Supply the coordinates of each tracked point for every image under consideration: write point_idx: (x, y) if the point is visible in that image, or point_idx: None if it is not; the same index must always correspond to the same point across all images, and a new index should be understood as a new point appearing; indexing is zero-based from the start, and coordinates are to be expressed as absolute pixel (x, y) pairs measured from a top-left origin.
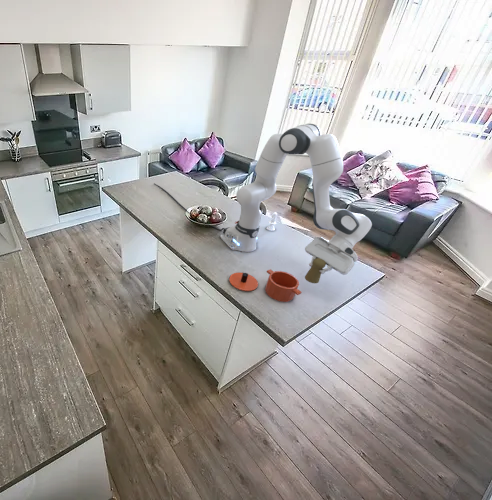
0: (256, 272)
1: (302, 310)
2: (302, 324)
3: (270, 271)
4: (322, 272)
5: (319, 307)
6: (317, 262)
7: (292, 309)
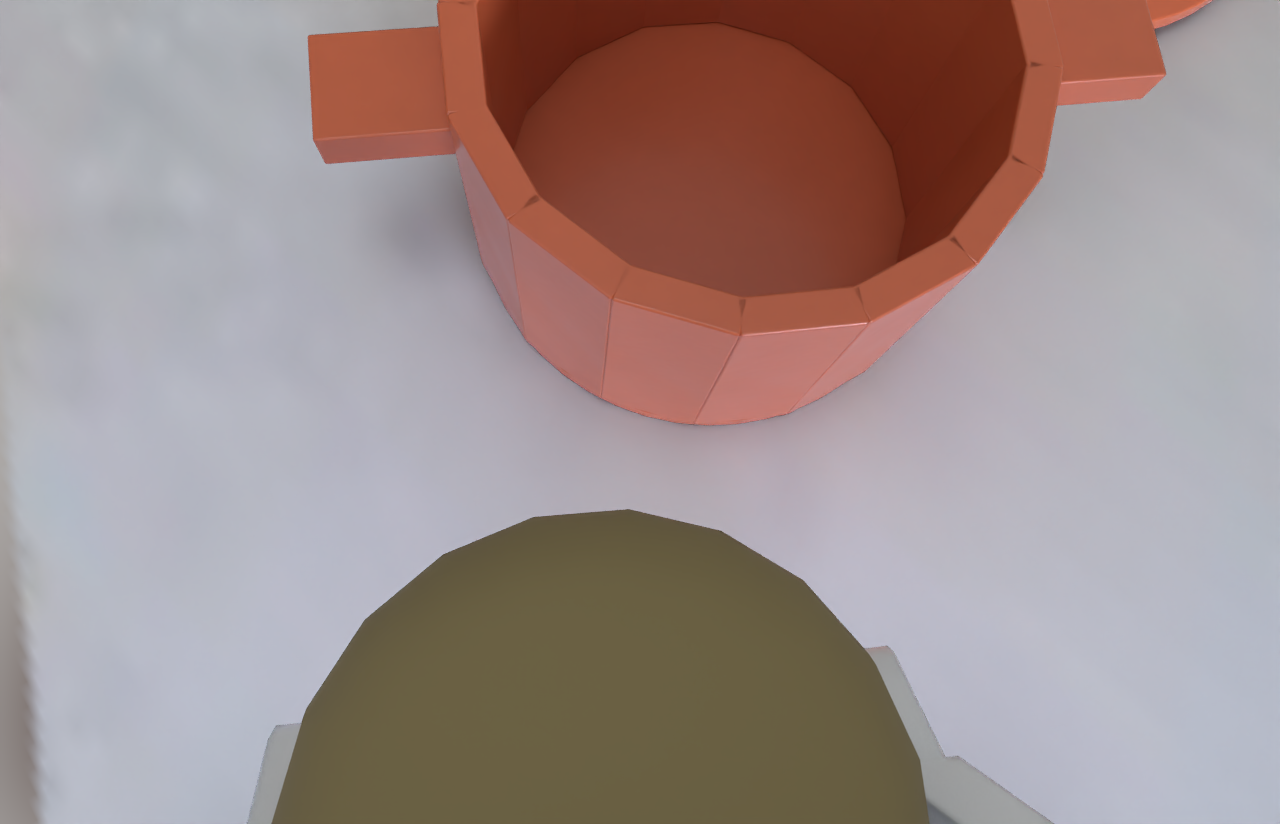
0: (1252, 203)
1: (234, 258)
2: (20, 49)
3: (1094, 18)
4: (271, 743)
5: (163, 586)
6: (537, 562)
7: None
